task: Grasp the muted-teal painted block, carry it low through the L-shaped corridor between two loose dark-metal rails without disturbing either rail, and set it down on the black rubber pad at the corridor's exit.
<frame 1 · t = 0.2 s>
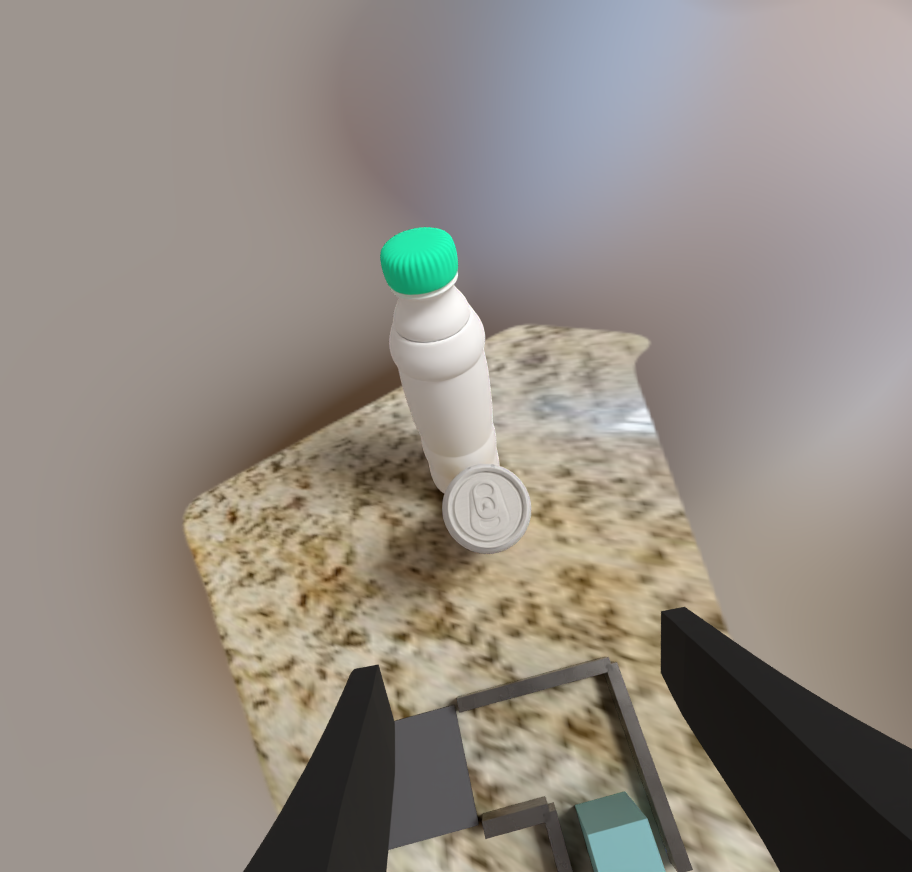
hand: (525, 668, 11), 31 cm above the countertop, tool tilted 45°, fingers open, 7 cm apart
water bottle: (466, 473, 45), point 1 cm above the countertop, touching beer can
rubber pad: (418, 773, 35), on the countertop
outer rail: (675, 859, 32), on the countertop
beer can: (479, 516, 43), point 1 cm above the countertop, touching water bottle
teal block: (610, 831, 32), on the countertop
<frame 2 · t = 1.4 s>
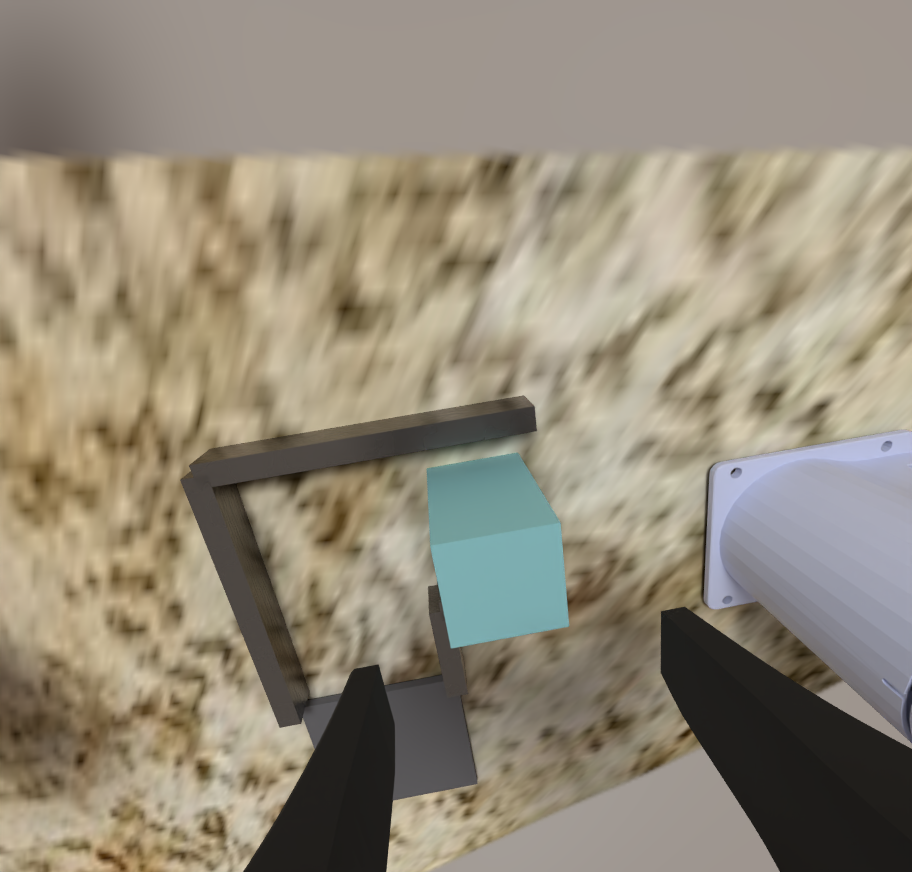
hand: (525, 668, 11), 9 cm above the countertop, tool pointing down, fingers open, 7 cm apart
rubber pad: (394, 741, 24), on the countertop
outer rail: (523, 405, 18), on the countertop
teal block: (478, 501, 19), on the countertop
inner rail: (540, 564, 21), on the countertop
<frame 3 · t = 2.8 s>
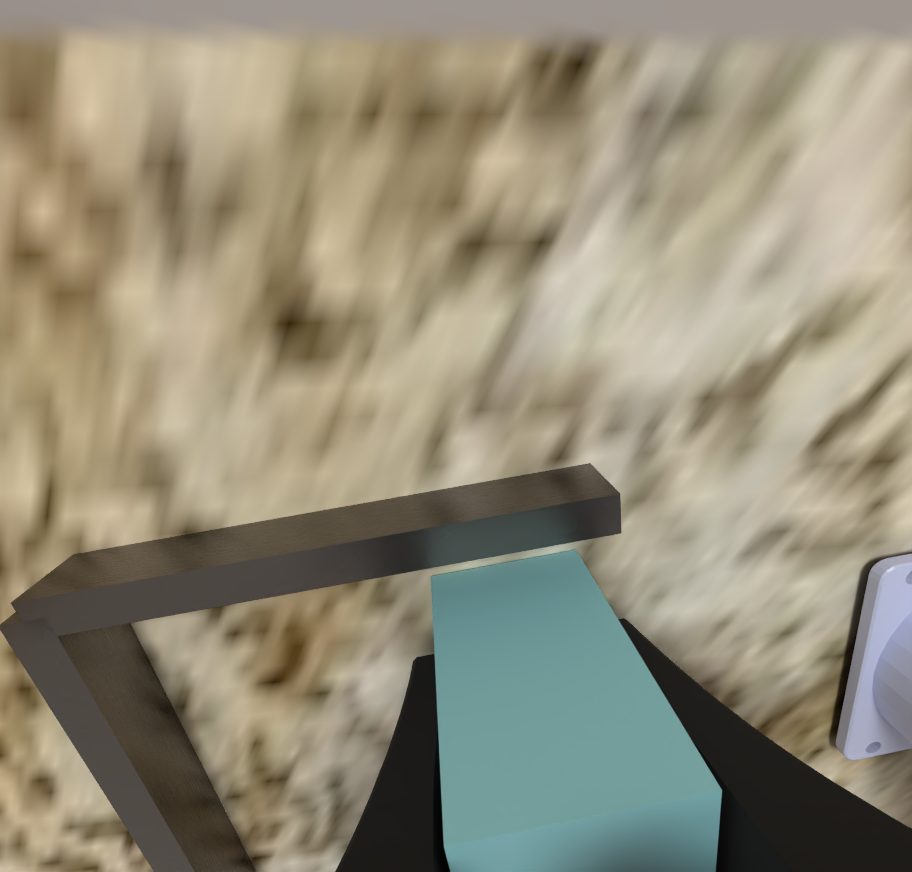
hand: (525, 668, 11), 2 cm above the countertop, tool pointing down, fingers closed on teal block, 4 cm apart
outer rail: (587, 476, 11), on the countertop
teal block: (511, 621, 12), on the countertop, touching gripper
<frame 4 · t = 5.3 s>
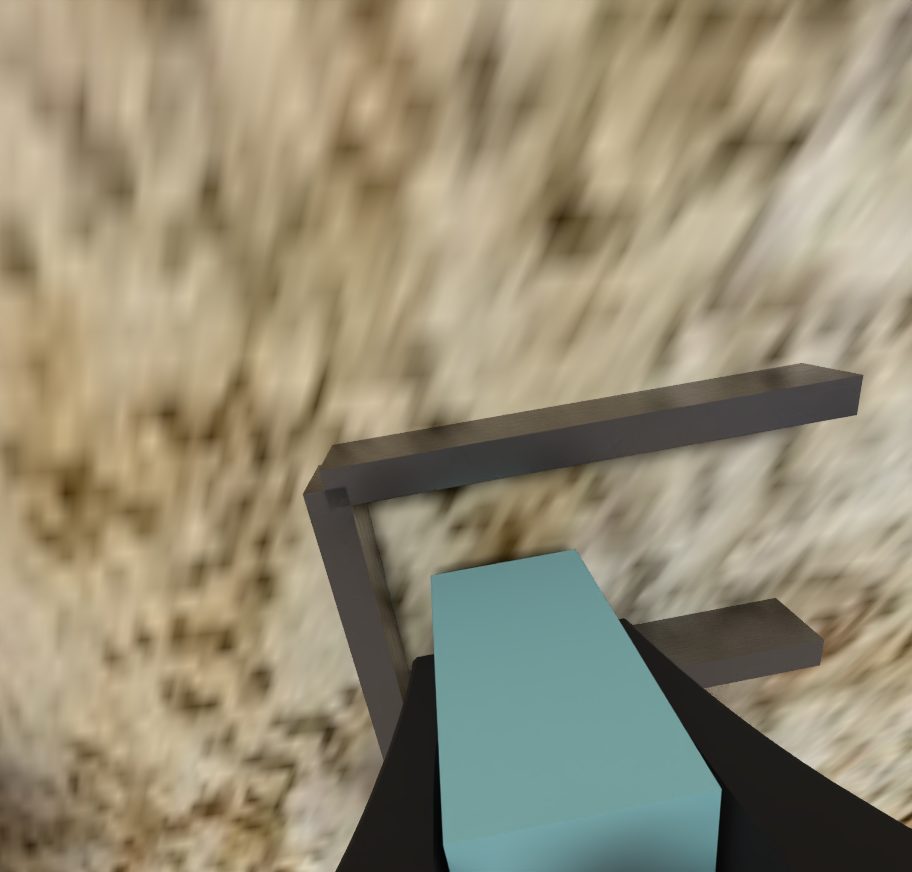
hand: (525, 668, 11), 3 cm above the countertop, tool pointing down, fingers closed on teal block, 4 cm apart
outer rail: (792, 378, 12), on the countertop
teal block: (511, 620, 12), point 1 cm above the countertop, touching gripper
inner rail: (770, 606, 15), on the countertop
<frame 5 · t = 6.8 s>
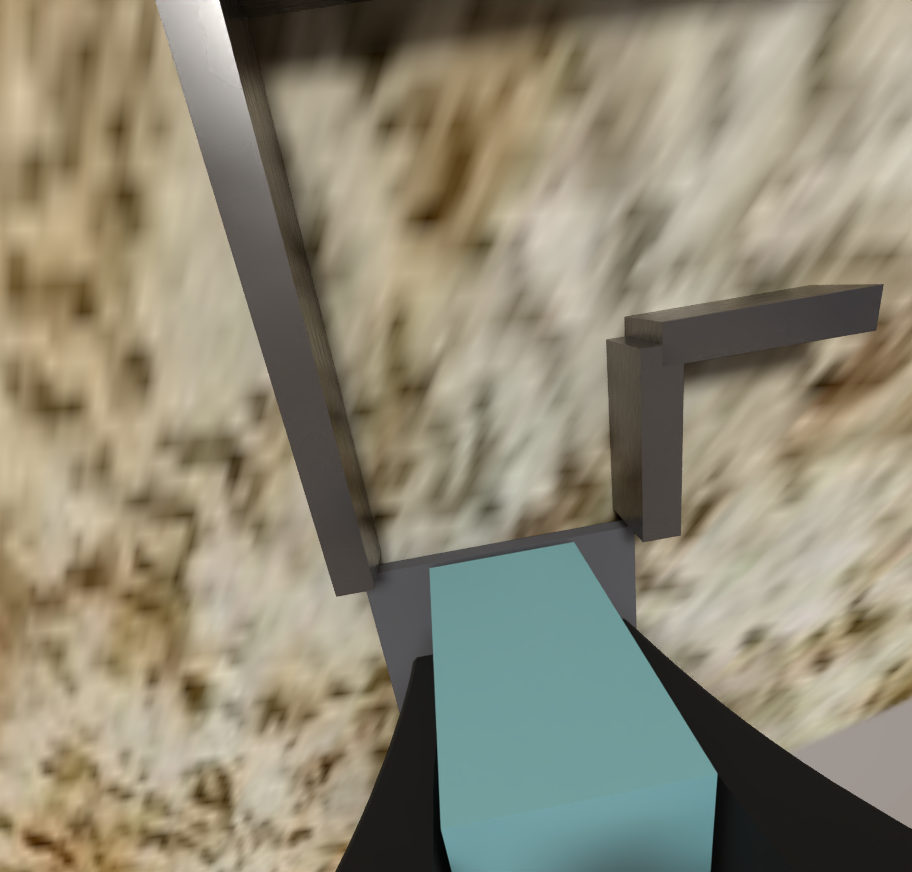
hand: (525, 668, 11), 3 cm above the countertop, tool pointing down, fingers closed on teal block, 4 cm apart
rubber pad: (512, 646, 14), on the countertop
teal block: (510, 613, 12), point 1 cm above the countertop, touching gripper
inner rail: (804, 304, 12), on the countertop
when the fingers open (2 cm above the countertop, at t = 8.2 s): teal block stays where it is, resting on rubber pad.
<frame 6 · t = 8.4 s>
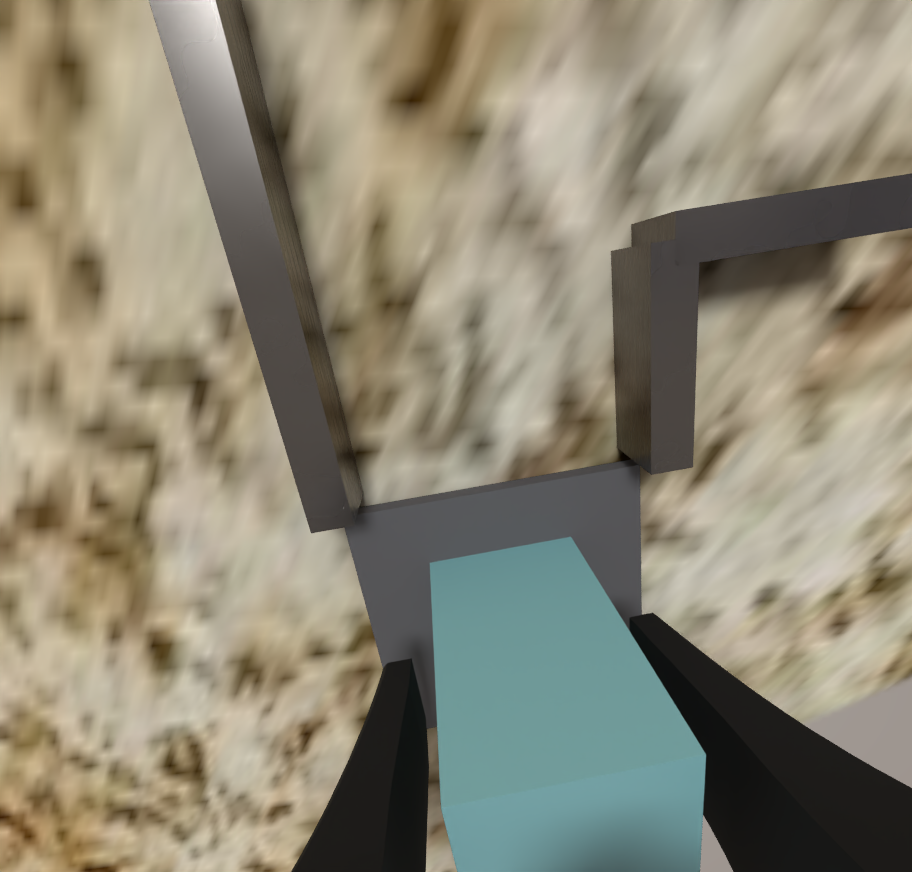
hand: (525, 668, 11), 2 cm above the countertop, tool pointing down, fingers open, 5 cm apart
rubber pad: (506, 602, 13), on the countertop
teal block: (508, 607, 13), resting on rubber pad
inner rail: (829, 215, 11), on the countertop
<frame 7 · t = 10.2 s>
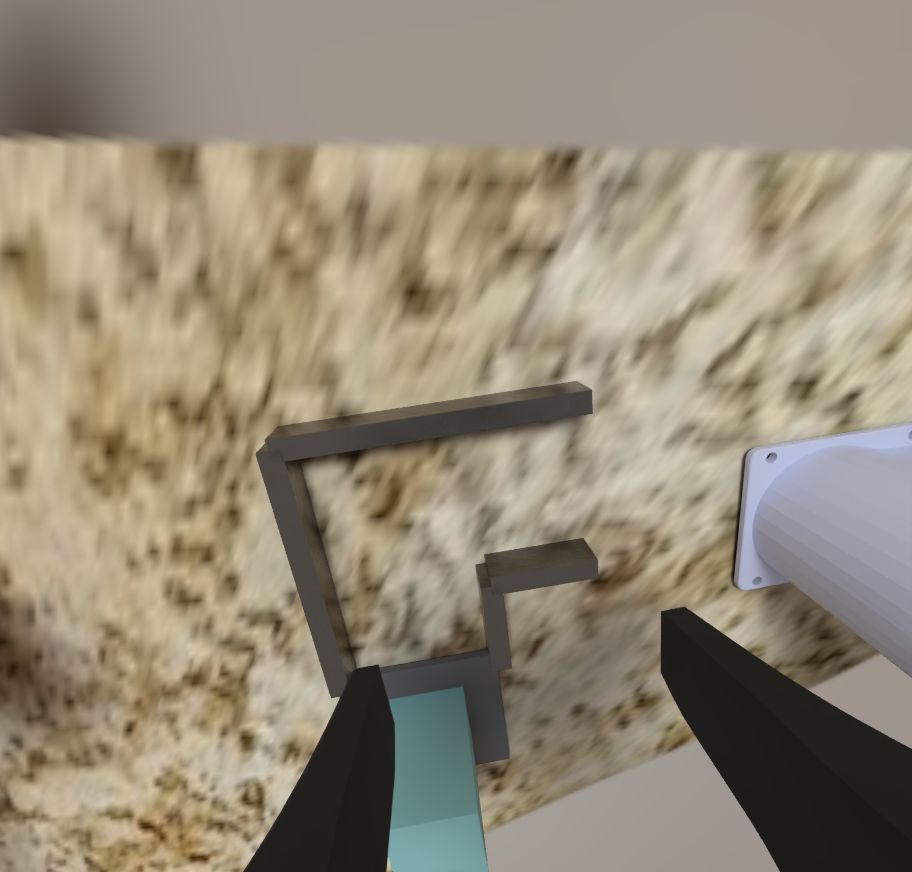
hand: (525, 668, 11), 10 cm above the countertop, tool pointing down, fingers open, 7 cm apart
rubber pad: (431, 715, 24), on the countertop
outer rail: (575, 390, 19), on the countertop
teal block: (431, 719, 24), resting on rubber pad
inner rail: (582, 544, 22), on the countertop
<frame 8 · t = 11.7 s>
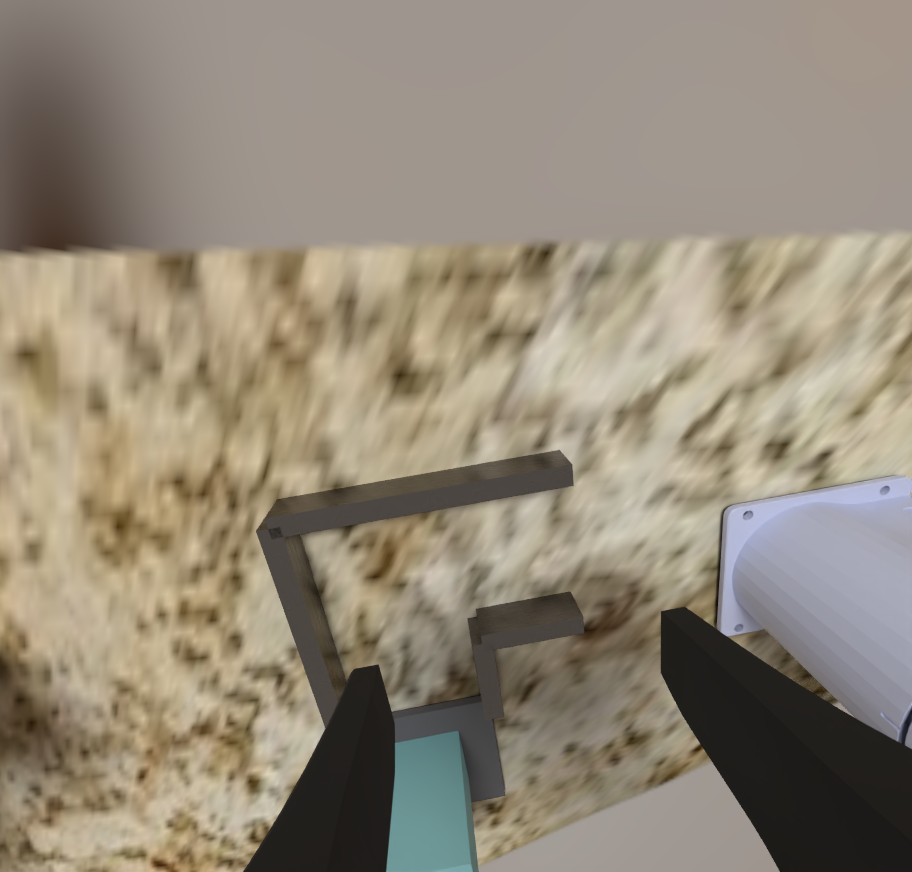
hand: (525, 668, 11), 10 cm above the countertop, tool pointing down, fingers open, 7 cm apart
rubber pad: (429, 756, 26), on the countertop
outer rail: (558, 457, 20), on the countertop
teal block: (429, 761, 25), resting on rubber pad
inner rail: (569, 597, 23), on the countertop
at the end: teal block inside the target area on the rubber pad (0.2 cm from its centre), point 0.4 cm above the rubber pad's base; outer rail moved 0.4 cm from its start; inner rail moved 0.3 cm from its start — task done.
